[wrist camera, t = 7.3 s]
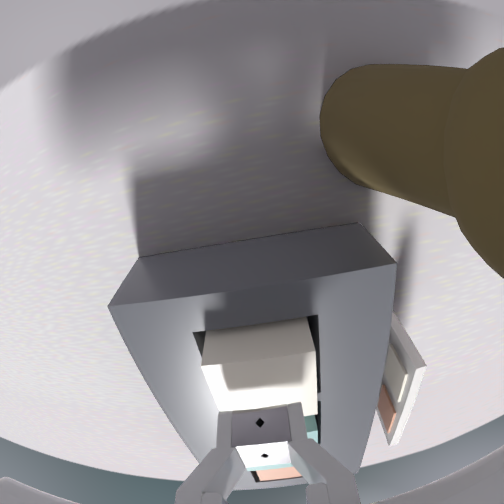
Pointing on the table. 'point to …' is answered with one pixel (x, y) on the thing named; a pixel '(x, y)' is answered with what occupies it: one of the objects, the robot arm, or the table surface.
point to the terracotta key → (278, 473)
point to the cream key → (262, 365)
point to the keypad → (270, 310)
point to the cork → (426, 140)
